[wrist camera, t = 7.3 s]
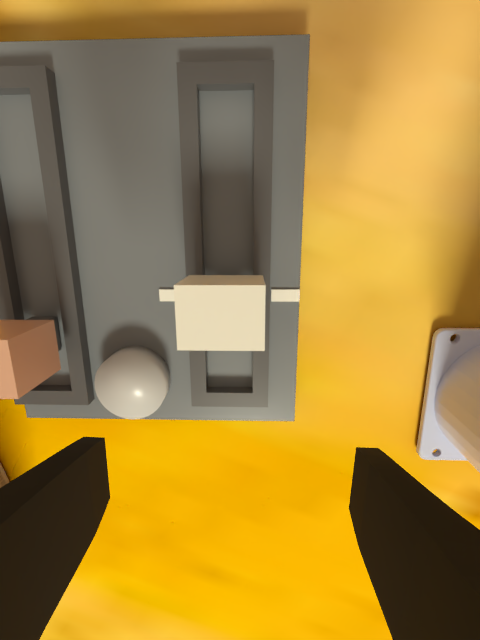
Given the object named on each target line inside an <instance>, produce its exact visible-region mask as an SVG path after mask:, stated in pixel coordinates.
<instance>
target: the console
mask: <svg viewBox="0 0 480 640" xmlns="http://www.w3.org/2000/svg"><path fill="white" fill-rule="evenodd" d="M309 41H310V34H308V35H266V36H225V37H183V38H142V39H101V40H59V41H18V42H0V320H25V319H28V318H31V317H33V316H57V322H58V328H59V335H60V342H61V349H62V350H60V351H58V352H59V358H60V365H61V369H60V370H59V371H57V372H56V373H55V374H53V375H52V376H50V377H49V378H48V379H46V380H45V381H43V382H42V383H40V384H39V385H38V386H36V387H35V388H33V389H32V390H30V391H29V392H28V393H26V394H25V395H23V396H22V397H21V398H19V399H14V401H15V404H25V408H26V414H27V417H30V418H104V419H177V420H250V421H294V417H295V392H296V367H297V342H298V317H299V299H300V267H301V242H302V217H303V192H304V167H305V142H306V116H307V91H308V66H309ZM189 275H263V278H264V281H265V285H266V295H265V351H190V350H177V338H176V320H175V301H174V285H175V284H176V283H178V282H179V281H181V280H182V279H184V278H186V277H187V276H189Z"/></svg>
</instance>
